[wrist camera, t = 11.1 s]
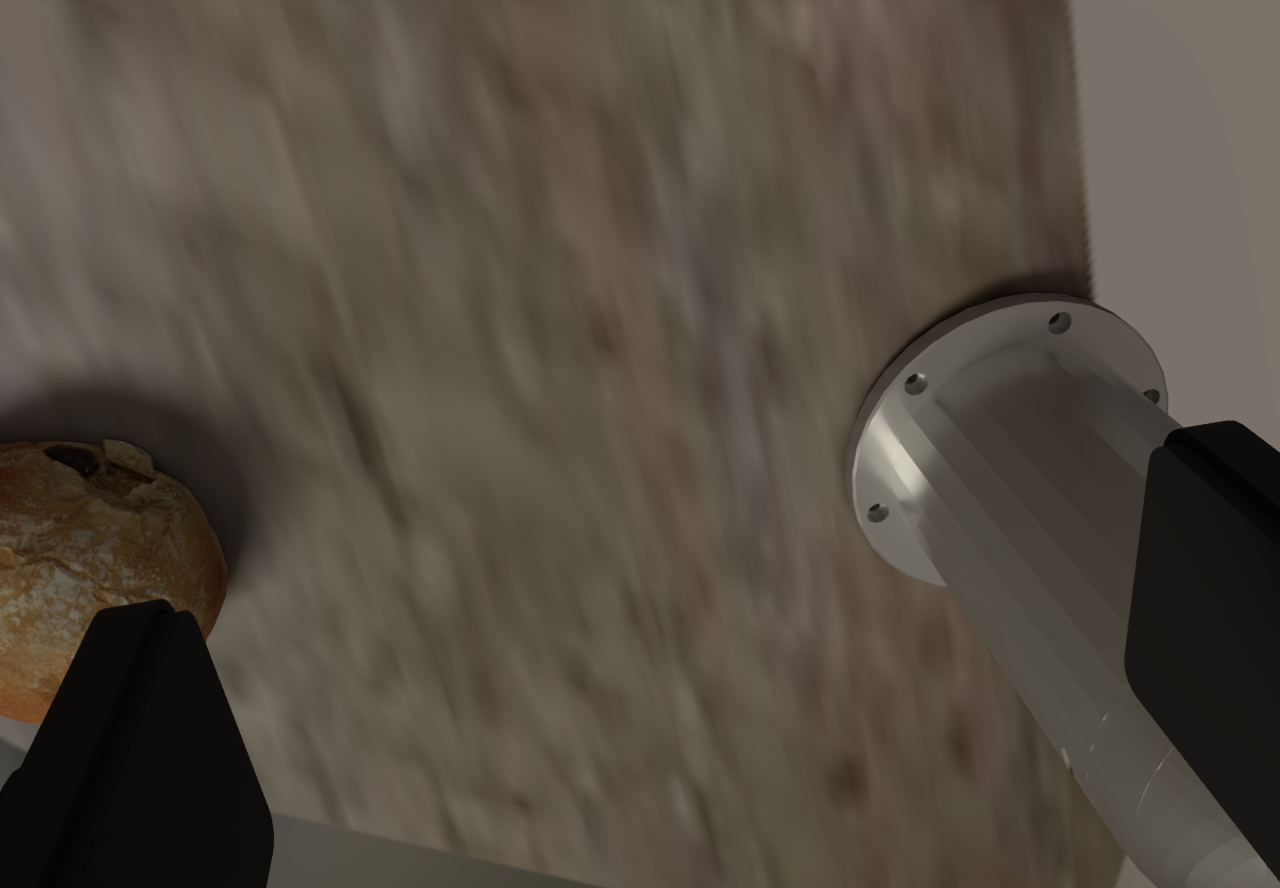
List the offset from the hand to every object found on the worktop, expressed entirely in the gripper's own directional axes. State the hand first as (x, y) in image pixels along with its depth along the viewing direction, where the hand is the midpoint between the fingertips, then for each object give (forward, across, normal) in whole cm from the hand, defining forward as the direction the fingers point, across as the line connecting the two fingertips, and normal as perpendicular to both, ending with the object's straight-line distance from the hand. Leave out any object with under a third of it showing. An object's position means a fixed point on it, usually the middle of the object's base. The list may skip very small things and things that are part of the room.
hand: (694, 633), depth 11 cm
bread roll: (+27, +18, +14) cm, 35 cm away
